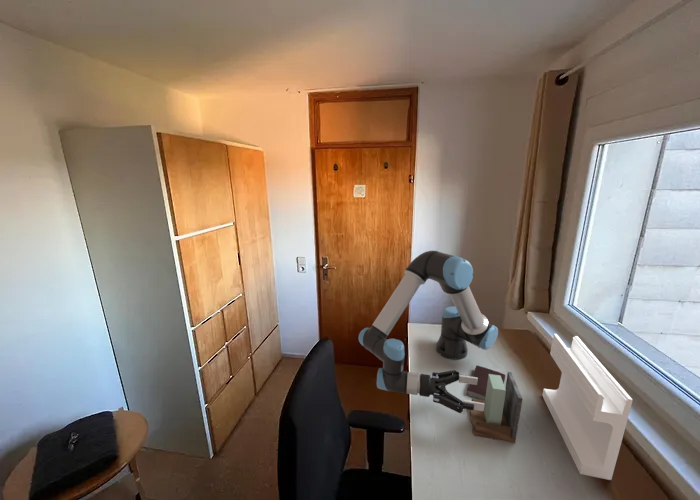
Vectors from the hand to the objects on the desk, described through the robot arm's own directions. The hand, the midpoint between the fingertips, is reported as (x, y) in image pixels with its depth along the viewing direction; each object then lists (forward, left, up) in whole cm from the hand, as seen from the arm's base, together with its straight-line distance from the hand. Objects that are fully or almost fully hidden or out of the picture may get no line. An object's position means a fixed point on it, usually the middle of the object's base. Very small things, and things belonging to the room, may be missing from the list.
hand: (480, 393), depth 111 cm
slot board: (0, +5, -12) cm, 13 cm away
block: (-3, +32, -12) cm, 34 cm away
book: (-21, +7, -13) cm, 26 cm away
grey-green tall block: (0, +5, -11) cm, 12 cm away
